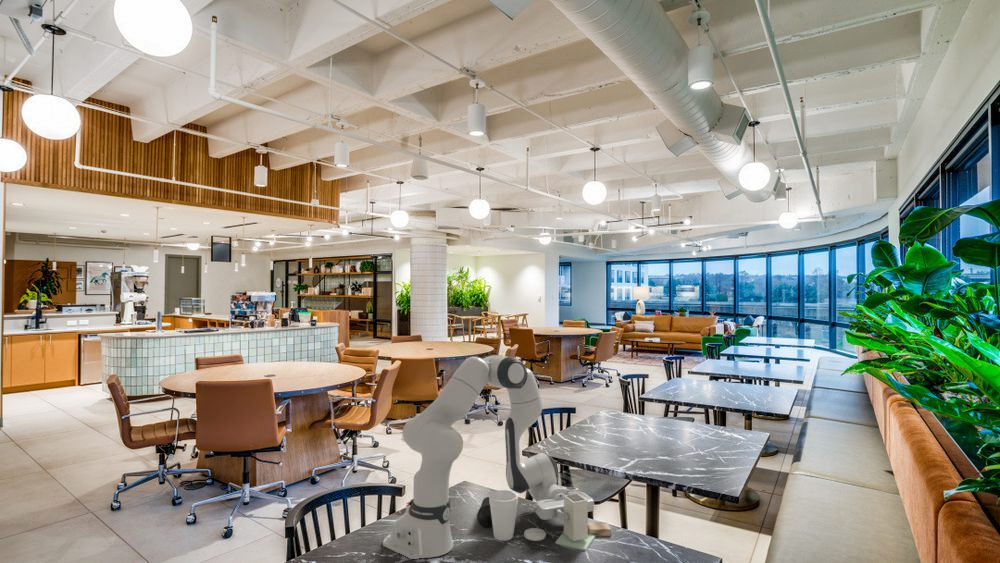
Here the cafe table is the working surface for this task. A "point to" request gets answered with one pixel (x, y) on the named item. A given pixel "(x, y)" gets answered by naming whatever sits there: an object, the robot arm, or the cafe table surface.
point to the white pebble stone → (534, 534)
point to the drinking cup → (485, 514)
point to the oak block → (599, 529)
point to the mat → (575, 542)
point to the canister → (576, 517)
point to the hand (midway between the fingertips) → (577, 516)
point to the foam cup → (503, 513)
